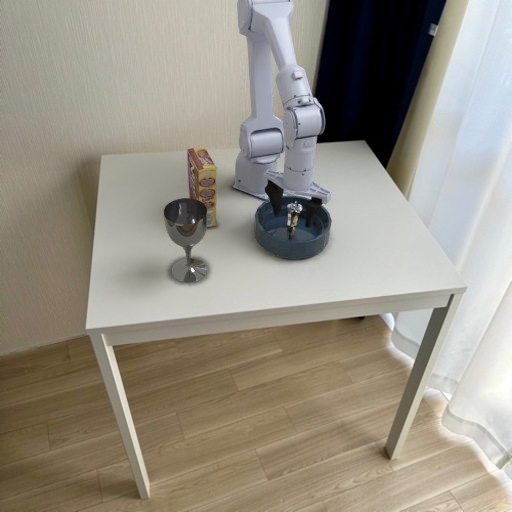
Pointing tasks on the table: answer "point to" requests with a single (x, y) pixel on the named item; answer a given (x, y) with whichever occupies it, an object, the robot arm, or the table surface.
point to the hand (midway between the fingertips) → (293, 218)
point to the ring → (294, 210)
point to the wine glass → (186, 235)
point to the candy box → (202, 180)
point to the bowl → (275, 227)
